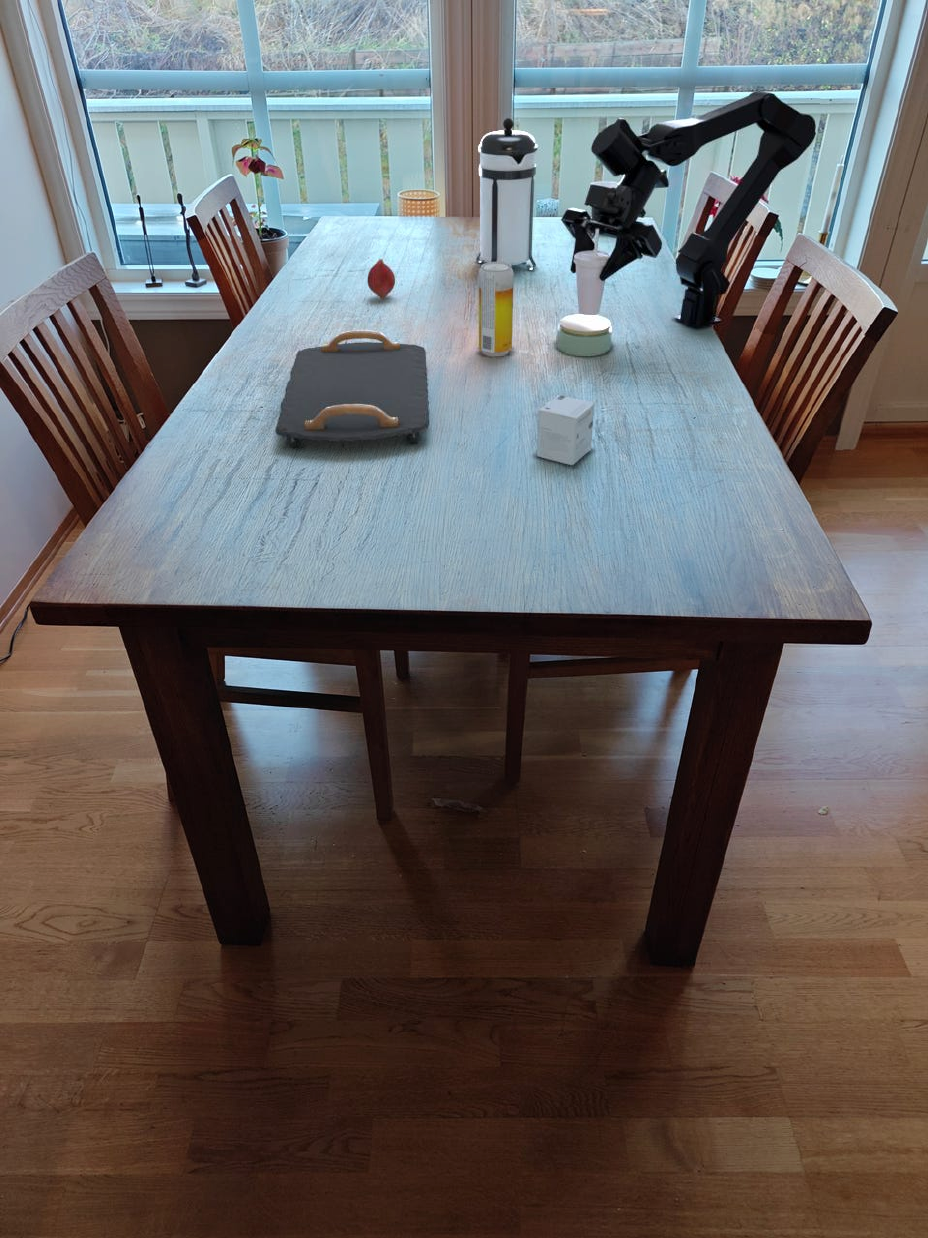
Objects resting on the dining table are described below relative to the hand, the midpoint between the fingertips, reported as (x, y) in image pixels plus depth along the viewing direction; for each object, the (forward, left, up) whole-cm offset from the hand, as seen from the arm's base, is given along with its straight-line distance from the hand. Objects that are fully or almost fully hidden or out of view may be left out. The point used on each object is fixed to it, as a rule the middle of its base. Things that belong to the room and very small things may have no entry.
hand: (586, 275), depth 145 cm
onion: (+16, -47, -13) cm, 52 cm away
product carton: (+27, +31, -13) cm, 43 cm away
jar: (-2, -1, -13) cm, 13 cm away
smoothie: (-1, 0, -7) cm, 7 cm away
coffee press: (-19, -53, -13) cm, 58 cm away
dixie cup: (-58, -64, -13) cm, 88 cm away
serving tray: (+44, -2, -13) cm, 46 cm away
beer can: (+13, -8, -13) cm, 21 cm away
